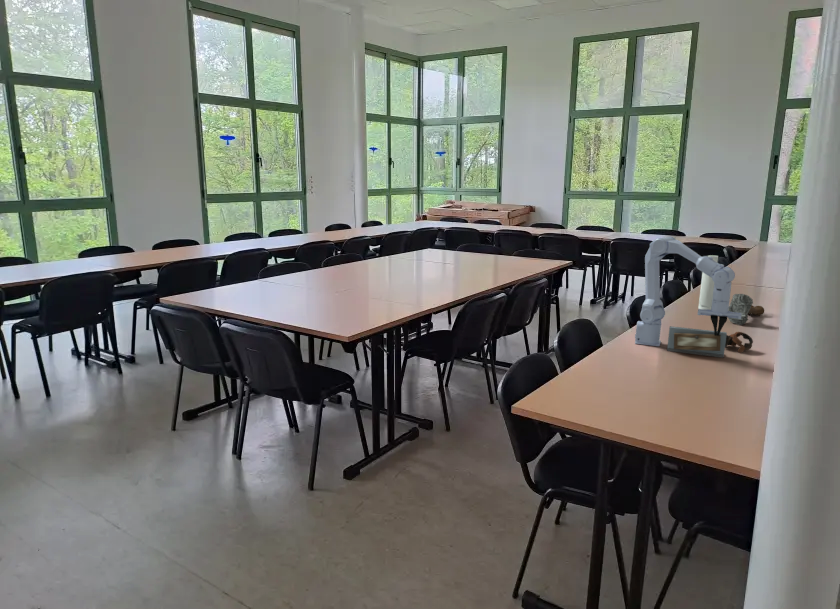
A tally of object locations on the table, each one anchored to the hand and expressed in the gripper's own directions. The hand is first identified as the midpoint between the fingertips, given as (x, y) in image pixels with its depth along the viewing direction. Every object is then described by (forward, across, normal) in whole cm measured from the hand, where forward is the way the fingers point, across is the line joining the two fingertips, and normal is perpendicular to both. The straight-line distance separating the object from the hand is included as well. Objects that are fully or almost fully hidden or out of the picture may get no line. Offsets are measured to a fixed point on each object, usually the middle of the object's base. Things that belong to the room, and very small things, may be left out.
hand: (716, 335), depth 215 cm
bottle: (+9, -2, +91) cm, 91 cm away
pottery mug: (+9, +8, +16) cm, 20 cm away
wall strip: (+9, -7, +3) cm, 12 cm away
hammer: (+9, +15, +74) cm, 76 cm away
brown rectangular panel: (+6, -6, +1) cm, 9 cm away
